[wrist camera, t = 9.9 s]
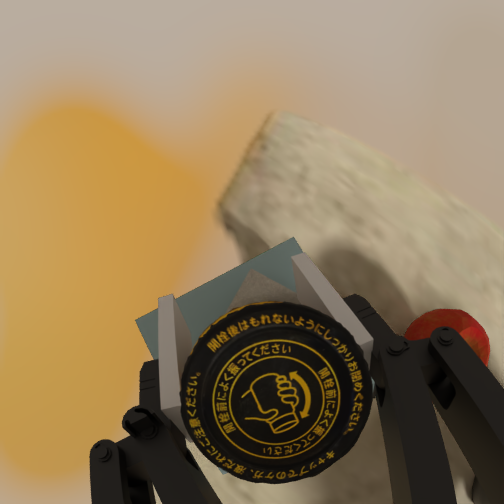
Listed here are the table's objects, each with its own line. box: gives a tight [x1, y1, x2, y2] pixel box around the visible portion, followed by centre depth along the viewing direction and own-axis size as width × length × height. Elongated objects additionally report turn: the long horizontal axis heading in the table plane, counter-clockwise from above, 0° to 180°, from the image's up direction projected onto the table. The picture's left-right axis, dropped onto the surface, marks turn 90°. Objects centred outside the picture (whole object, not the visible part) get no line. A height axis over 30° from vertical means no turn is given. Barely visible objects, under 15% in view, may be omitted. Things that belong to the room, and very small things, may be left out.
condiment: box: [179, 269, 373, 484], centre depth 13 cm, size 7×8×12 cm
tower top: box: [135, 237, 375, 474], centre depth 23 cm, size 13×13×4 cm
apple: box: [404, 309, 490, 403], centre depth 23 cm, size 9×8×11 cm
